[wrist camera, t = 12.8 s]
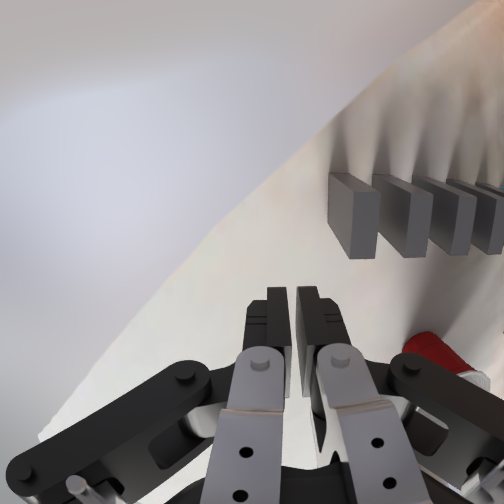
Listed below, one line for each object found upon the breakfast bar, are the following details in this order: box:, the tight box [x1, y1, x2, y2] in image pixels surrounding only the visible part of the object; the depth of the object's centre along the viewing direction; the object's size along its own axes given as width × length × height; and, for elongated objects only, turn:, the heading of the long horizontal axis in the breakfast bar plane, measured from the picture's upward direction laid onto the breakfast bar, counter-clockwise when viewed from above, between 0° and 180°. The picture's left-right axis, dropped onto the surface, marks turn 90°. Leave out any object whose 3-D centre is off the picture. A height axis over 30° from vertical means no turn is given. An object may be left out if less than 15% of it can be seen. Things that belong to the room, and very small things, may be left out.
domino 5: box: [475, 182, 504, 245], centre depth 24 cm, size 2×5×9 cm, turn 3°
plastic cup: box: [402, 332, 490, 429], centre depth 30 cm, size 11×11×12 cm
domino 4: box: [446, 179, 504, 255], centre depth 24 cm, size 2×5×9 cm, turn 2°
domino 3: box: [412, 176, 477, 256], centre depth 24 cm, size 2×5×9 cm, turn 2°
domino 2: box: [372, 174, 434, 258], centre depth 25 cm, size 2×5×9 cm, turn 3°
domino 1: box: [328, 173, 381, 259], centre depth 25 cm, size 2×5×9 cm, turn 3°
